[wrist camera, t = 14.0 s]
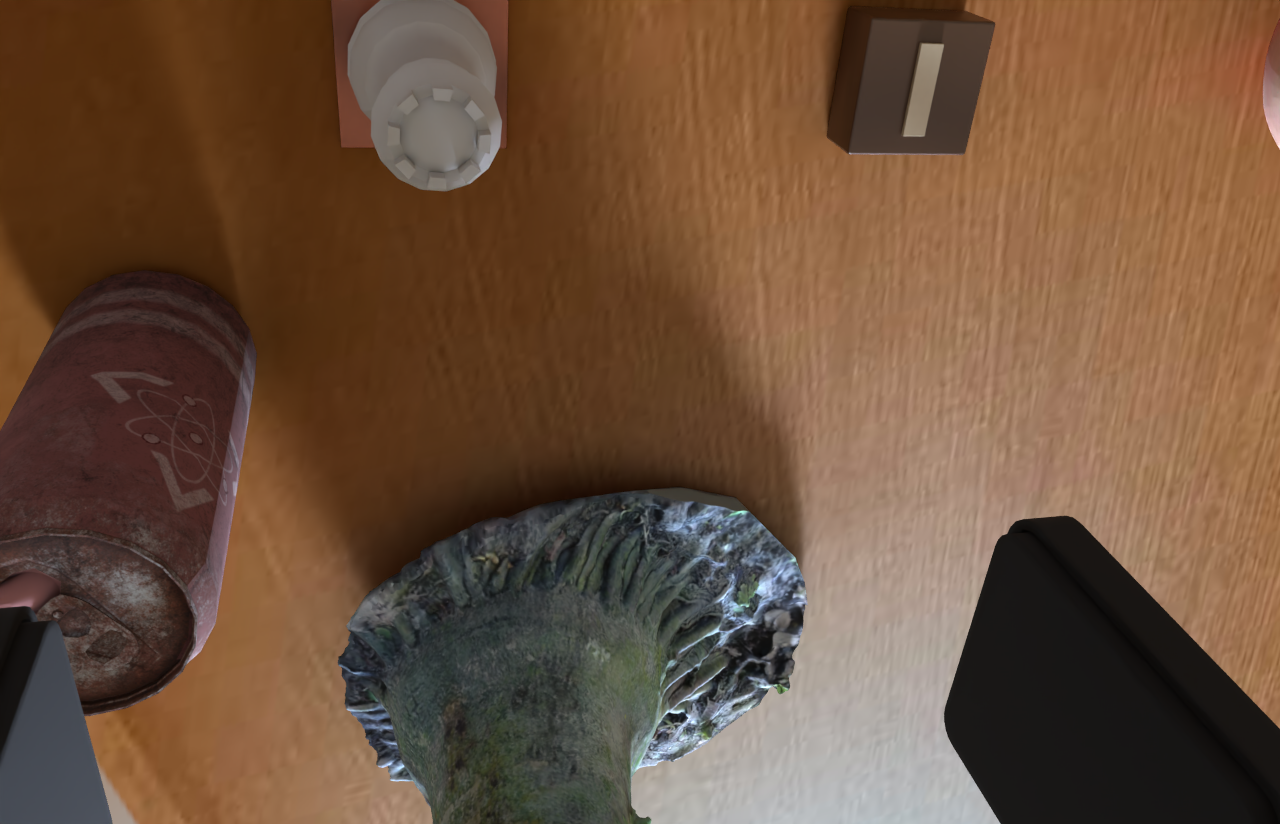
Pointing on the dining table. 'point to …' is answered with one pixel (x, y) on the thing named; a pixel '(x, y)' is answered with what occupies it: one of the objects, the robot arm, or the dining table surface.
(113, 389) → the can
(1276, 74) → the decorative fruit
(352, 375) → the dining table surface
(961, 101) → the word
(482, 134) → the rook chess piece
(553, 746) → the tree stump
